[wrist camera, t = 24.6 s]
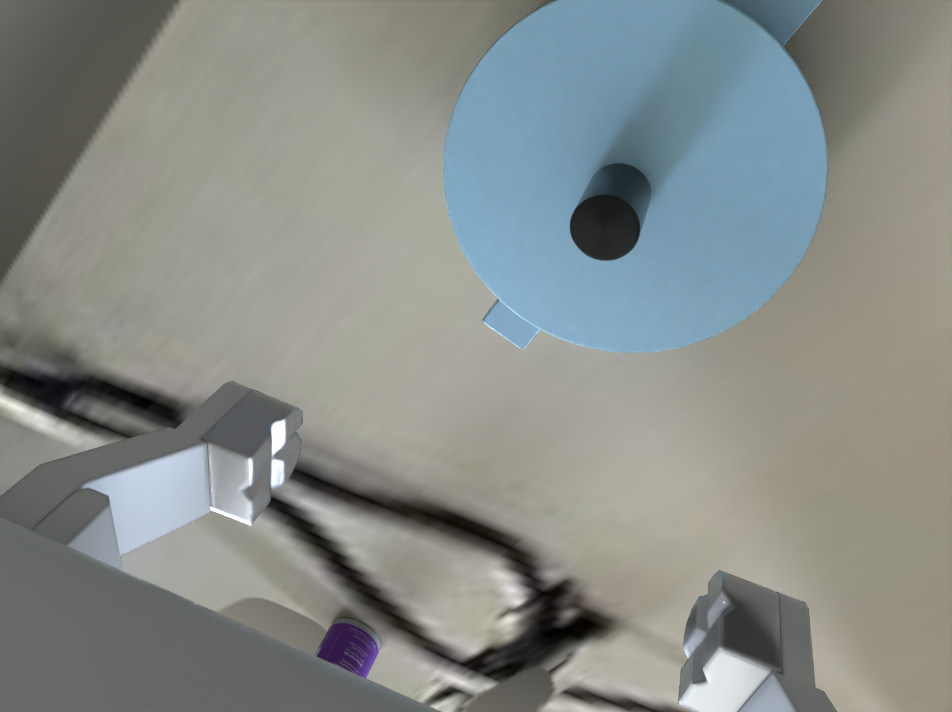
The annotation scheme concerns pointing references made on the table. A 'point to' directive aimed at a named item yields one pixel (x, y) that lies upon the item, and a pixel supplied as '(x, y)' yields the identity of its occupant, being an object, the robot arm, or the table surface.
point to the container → (350, 646)
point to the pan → (781, 12)
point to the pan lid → (635, 170)
